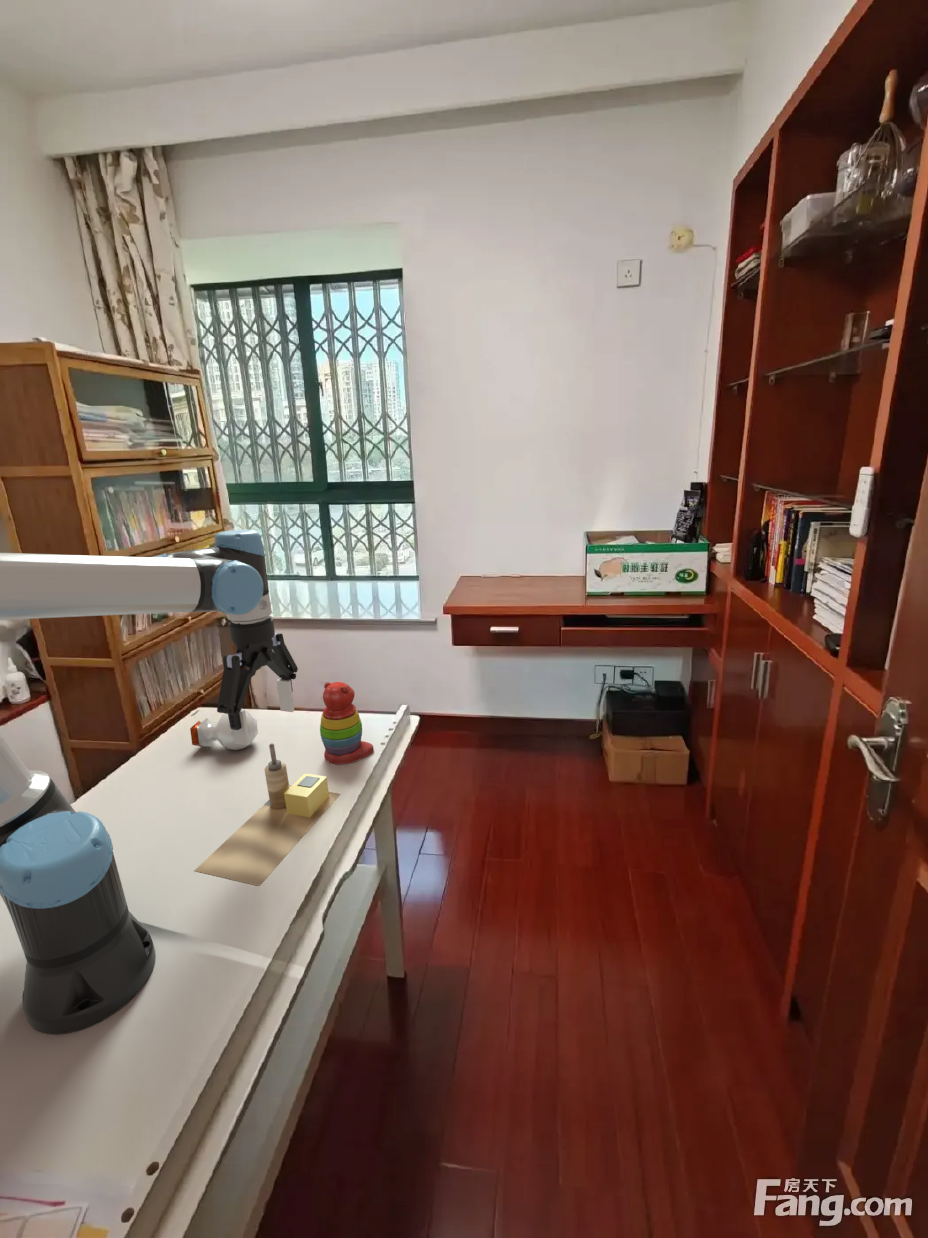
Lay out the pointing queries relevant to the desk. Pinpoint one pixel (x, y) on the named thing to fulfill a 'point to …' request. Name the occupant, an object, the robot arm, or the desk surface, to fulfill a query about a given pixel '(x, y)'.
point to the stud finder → (306, 795)
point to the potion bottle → (221, 732)
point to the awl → (276, 780)
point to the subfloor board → (260, 844)
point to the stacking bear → (342, 726)
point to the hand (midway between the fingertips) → (266, 726)
